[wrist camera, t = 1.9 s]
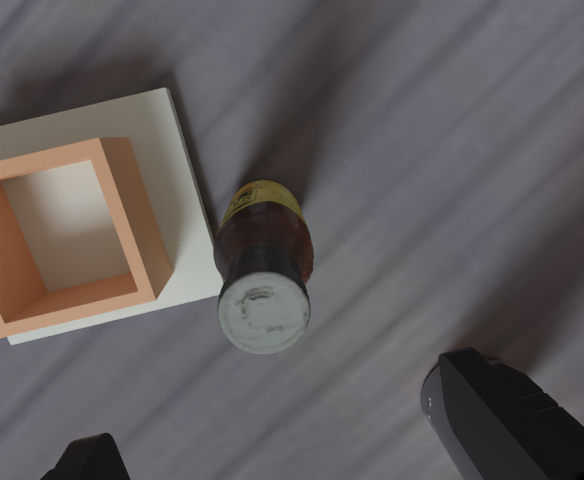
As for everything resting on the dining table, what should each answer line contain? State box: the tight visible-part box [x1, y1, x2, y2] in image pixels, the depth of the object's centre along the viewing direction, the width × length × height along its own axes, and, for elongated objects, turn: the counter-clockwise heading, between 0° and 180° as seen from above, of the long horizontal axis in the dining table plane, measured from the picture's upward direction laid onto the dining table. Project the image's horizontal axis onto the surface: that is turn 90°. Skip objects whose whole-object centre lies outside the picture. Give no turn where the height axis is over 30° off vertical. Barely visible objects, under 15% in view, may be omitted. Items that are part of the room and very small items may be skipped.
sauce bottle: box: [213, 179, 314, 354], centre depth 26 cm, size 7×6×20 cm
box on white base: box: [0, 87, 225, 345], centre depth 31 cm, size 20×18×8 cm
